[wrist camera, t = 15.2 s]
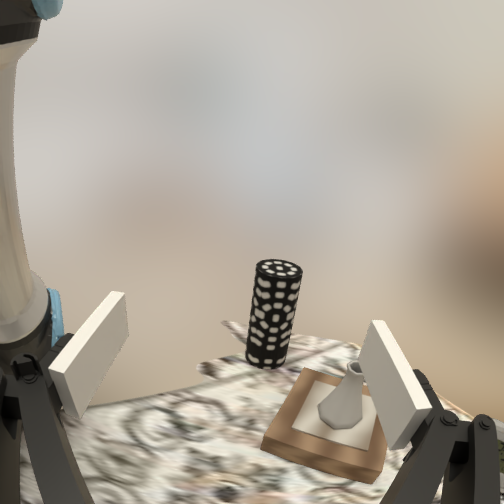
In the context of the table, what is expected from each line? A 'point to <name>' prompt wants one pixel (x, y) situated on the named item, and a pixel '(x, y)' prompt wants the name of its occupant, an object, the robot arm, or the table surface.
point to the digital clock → (500, 450)
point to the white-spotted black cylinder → (272, 312)
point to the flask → (344, 400)
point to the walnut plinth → (326, 432)
